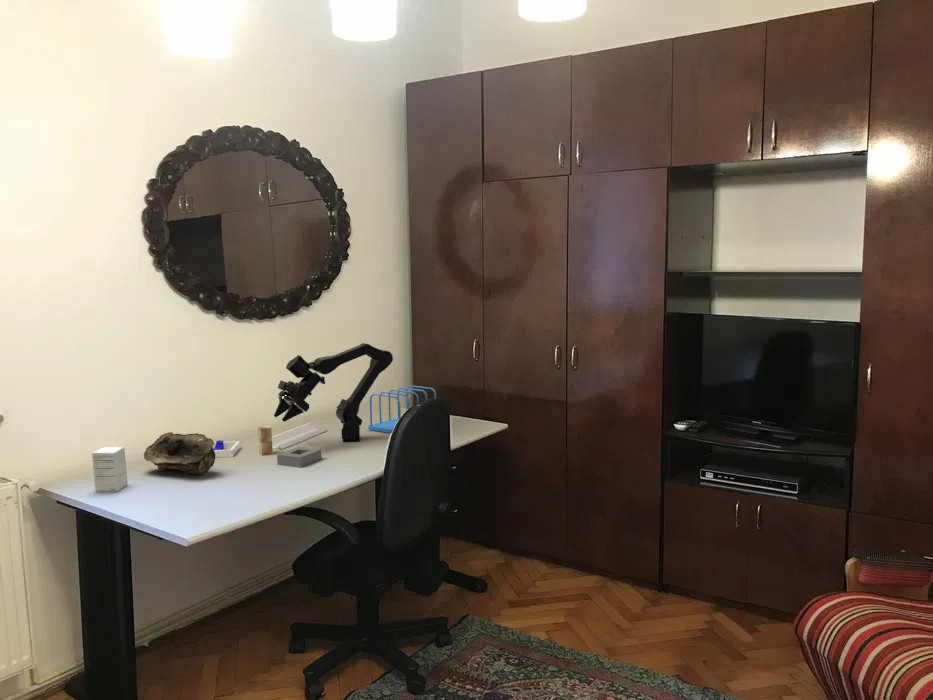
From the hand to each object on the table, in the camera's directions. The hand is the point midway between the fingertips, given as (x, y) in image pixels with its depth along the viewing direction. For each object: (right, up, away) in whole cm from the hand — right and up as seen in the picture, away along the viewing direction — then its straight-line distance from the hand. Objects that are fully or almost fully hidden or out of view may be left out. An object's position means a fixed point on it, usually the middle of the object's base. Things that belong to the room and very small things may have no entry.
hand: (278, 418), depth 292 cm
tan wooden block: (-4, -13, -1) cm, 14 cm away
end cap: (+10, -14, -13) cm, 22 cm away
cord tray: (-23, -13, +2) cm, 26 cm away
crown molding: (+1, -11, +21) cm, 24 cm away
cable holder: (-23, -13, +2) cm, 27 cm away
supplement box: (-44, -19, -40) cm, 62 cm away
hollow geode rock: (-27, -16, -23) cm, 39 cm away
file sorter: (+43, -7, +38) cm, 58 cm away
